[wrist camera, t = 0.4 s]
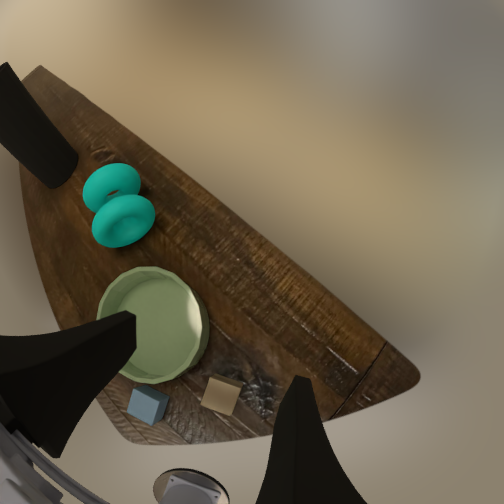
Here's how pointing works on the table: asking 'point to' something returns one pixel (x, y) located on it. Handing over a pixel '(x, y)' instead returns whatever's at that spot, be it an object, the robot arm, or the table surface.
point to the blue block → (147, 404)
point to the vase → (32, 133)
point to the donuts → (117, 206)
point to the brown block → (221, 394)
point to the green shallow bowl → (159, 322)
